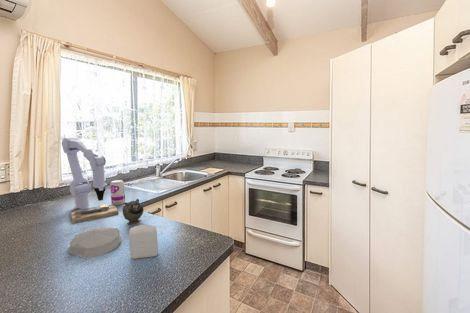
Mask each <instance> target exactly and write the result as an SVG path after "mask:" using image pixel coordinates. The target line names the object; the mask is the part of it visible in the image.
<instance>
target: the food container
mask: <svg viewBox="0 0 470 313" xmlns="http://www.w3.org/2000/svg"><path fill="white" fill-rule="evenodd" d="M122 240H123V238H122V236H121V233H120V229H118V228H117V227H109V226H108V227H107V226H106V227H97V228H93V229H92V228H91V229H87V230H86V231H83V232H81V233H79V234H77V235H75V236H74V237H73V238H72V239H71V241H70V243H69V247H68V249H67V250H68V252H69V253H70V254H71V255H72V256H73V257H78V256H79V258H80V259H81V257H82V258H84V257H85V258H92V257H98V256H101V254H102V255H104V254H107V253H109V252H112V251H114V250H115V249H116V248H118V247H119V246H120V244H121V242H122ZM97 255H98V256H97Z"/></svg>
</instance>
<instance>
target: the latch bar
mask: <svg viewBox="0 0 470 313" xmlns="http://www.w3.org/2000/svg"><path fill="white" fill-rule="evenodd" d="M108 205H109V204H105V203H104V204H101V205H98V206H92V207H91V206H90V208H86V209H80V210H81V214H82V213H87V212H93V211H98V210H104V209H109V206H108ZM80 210H79V209H77V210H76V211H80Z"/></svg>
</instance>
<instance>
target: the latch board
mask: <svg viewBox="0 0 470 313" xmlns="http://www.w3.org/2000/svg"><path fill="white" fill-rule="evenodd" d="M107 205H108V206H109V209H104V210H98V211H93V212H87V213H82V214H81V210H80V207H77V208H74V211H72V212H70V213H71V220H72V224H77V223H80V222H85V221H90V220H96V219H100V218H101V219H102V218H106V217H112V216H116V215H119V210H118V208H117V207H116V205H113V204H107ZM77 209H79V210H80V211H76V210H77Z"/></svg>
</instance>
